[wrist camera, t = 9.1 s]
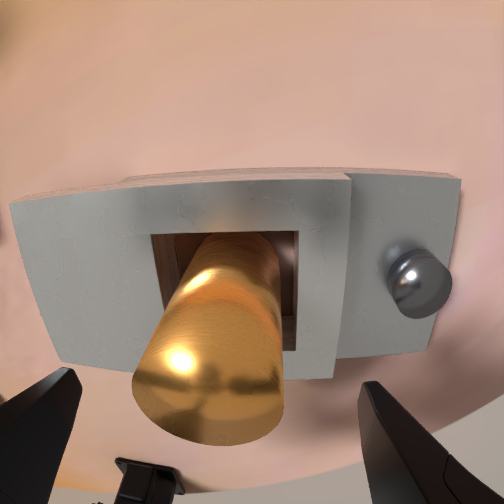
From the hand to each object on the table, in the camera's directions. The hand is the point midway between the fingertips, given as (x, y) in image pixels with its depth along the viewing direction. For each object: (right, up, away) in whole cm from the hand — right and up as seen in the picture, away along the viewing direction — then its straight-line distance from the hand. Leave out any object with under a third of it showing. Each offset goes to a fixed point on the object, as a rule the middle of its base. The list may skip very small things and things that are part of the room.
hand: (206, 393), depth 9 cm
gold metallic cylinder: (0, +3, +8) cm, 9 cm away
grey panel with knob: (0, +3, +8) cm, 9 cm away
